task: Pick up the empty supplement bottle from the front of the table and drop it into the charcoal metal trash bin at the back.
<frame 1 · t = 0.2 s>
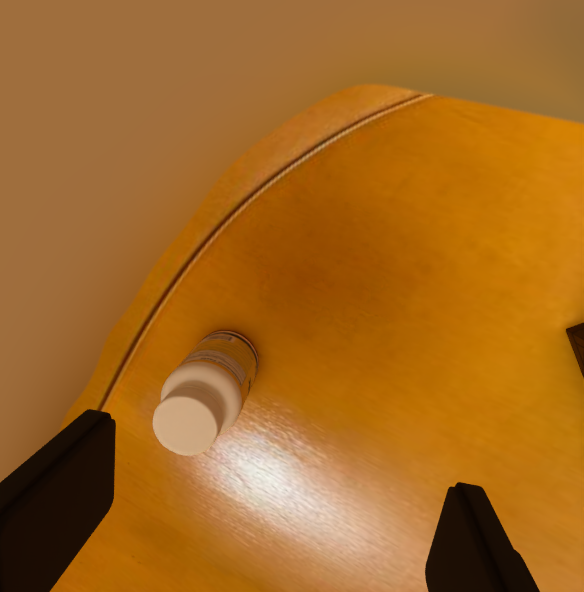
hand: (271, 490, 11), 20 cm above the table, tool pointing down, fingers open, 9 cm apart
supplement bottle: (228, 358, 32), on the table
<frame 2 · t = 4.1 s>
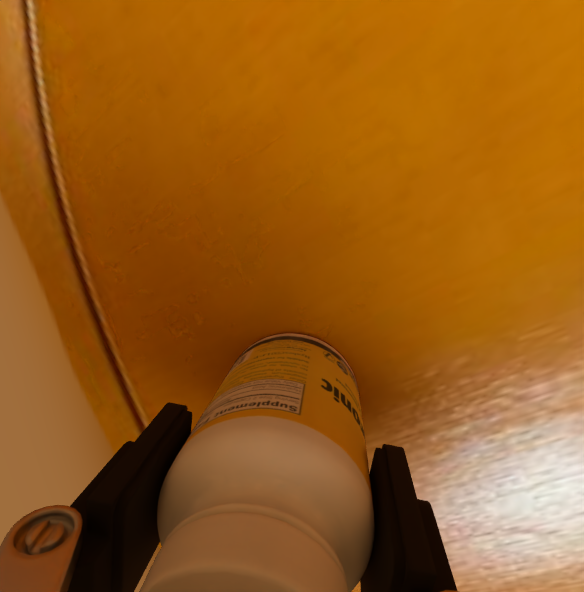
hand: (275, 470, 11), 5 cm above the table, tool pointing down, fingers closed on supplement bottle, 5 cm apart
supplement bottle: (294, 387, 16), on the table, touching gripper
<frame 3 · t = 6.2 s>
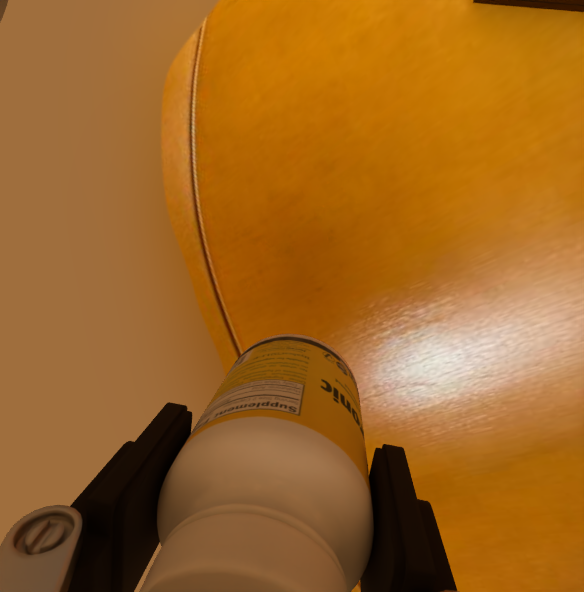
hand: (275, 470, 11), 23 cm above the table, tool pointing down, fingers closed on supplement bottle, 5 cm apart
supplement bottle: (294, 388, 16), point 18 cm above the table, touching gripper
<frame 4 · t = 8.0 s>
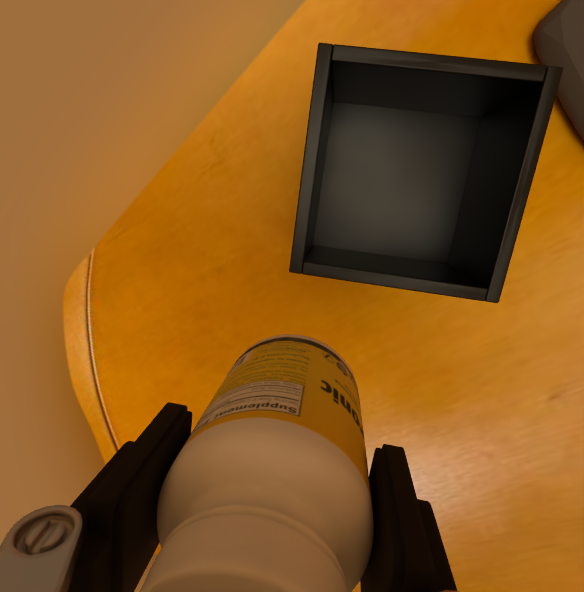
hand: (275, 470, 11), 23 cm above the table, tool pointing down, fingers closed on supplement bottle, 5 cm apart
trash bin: (390, 185, 31), on the table
supplement bottle: (294, 388, 16), point 18 cm above the table, touching gripper
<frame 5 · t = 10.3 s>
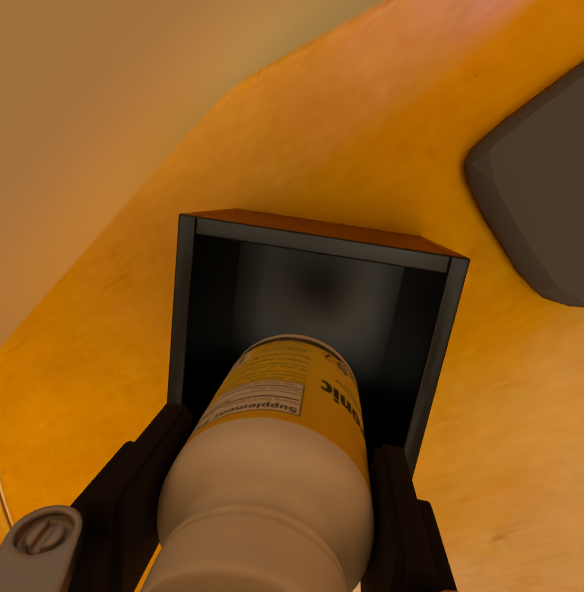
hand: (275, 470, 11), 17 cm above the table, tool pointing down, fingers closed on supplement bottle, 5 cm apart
trash bin: (312, 310, 27), on the table
supplement bottle: (294, 388, 16), point 12 cm above the table, touching gripper
when the fingers open (12 cm above the table, at t = 12.2 s): supplement bottle drops 6 cm, resting on trash bin.
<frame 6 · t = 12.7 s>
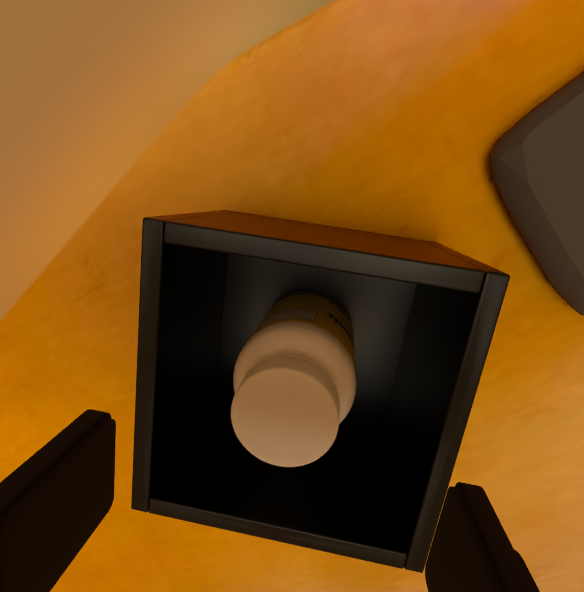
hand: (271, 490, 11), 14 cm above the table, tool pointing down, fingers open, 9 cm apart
trash bin: (311, 326, 24), on the table
supplement bottle: (309, 330, 23), point 1 cm above the table, touching trash bin
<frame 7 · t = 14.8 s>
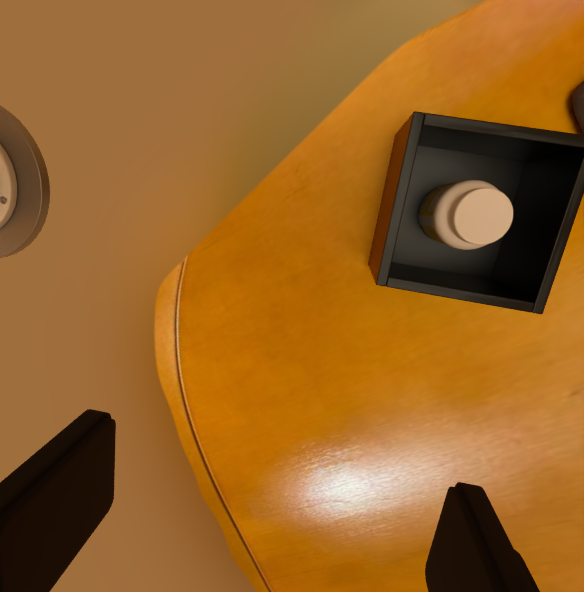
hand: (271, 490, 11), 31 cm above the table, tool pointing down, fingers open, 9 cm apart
trash bin: (445, 212, 37), on the table
supplement bottle: (446, 213, 37), point 1 cm above the table, touching trash bin
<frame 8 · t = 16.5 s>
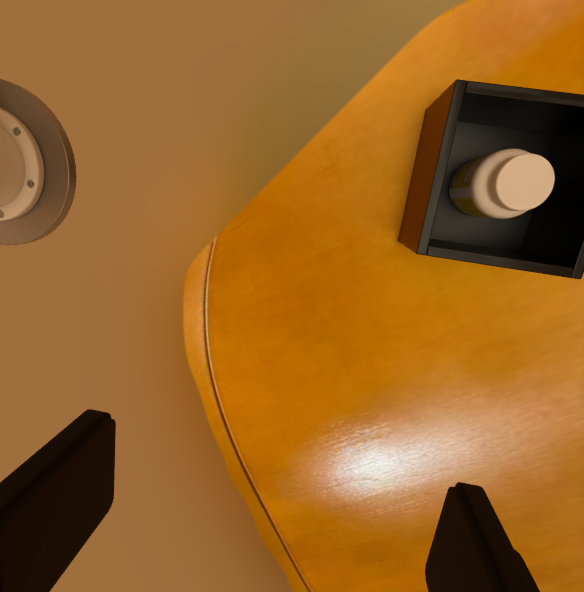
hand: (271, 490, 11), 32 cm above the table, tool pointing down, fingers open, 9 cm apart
trash bin: (475, 187, 38), on the table
supplement bottle: (476, 187, 37), point 1 cm above the table, touching trash bin
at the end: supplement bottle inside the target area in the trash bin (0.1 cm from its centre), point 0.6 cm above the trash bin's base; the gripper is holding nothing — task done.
